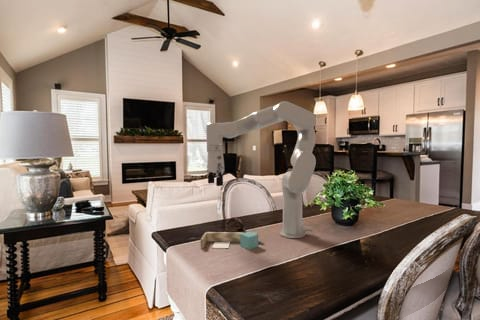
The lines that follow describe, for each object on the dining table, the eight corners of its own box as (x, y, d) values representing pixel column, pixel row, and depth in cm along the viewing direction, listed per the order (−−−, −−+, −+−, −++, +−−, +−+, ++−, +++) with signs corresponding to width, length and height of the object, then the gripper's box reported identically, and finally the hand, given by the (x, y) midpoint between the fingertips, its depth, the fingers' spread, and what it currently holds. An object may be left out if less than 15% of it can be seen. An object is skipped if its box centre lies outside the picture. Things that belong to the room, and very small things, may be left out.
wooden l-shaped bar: (258, 241, 128) (258, 232, 127) (258, 249, 118) (258, 240, 117) (205, 240, 129) (205, 232, 129) (200, 248, 119) (200, 239, 119)
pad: (229, 242, 126) (229, 242, 126) (228, 248, 119) (228, 247, 119) (214, 242, 126) (214, 241, 126) (212, 248, 119) (212, 247, 119)
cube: (249, 243, 125) (249, 231, 125) (258, 246, 121) (257, 234, 121) (240, 246, 122) (240, 234, 121) (248, 249, 117) (248, 237, 117)
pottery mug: (246, 235, 138) (238, 222, 136) (230, 242, 140) (222, 229, 137) (247, 222, 149) (239, 210, 147) (232, 229, 151) (224, 217, 149)
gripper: (230, 148, 125) (230, 186, 126) (214, 148, 140) (215, 181, 141) (215, 149, 121) (215, 187, 123) (200, 148, 136) (201, 182, 138)
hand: (215, 184), depth 132 cm, fingers open, 9 cm apart
